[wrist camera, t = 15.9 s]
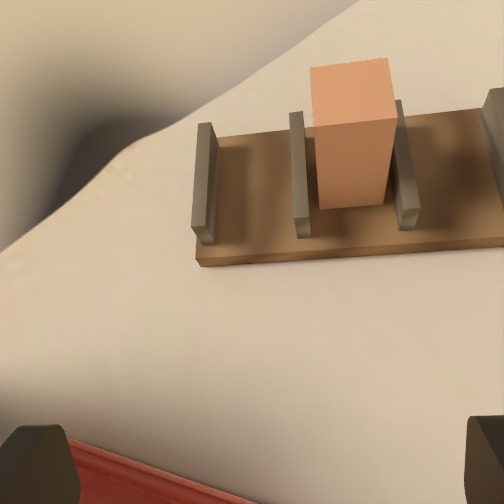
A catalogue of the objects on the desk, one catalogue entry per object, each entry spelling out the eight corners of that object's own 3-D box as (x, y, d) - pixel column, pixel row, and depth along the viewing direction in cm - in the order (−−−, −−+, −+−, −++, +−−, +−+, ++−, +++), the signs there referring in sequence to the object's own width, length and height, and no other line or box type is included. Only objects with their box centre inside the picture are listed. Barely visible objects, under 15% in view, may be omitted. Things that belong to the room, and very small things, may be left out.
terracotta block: (319, 209, 33) (313, 126, 25) (316, 159, 35) (309, 67, 27) (382, 204, 32) (397, 117, 24) (375, 153, 34) (387, 57, 26)
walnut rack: (200, 266, 34) (182, 240, 30) (207, 150, 39) (192, 114, 35) (526, 244, 31) (555, 211, 27) (490, 119, 36) (509, 75, 32)
